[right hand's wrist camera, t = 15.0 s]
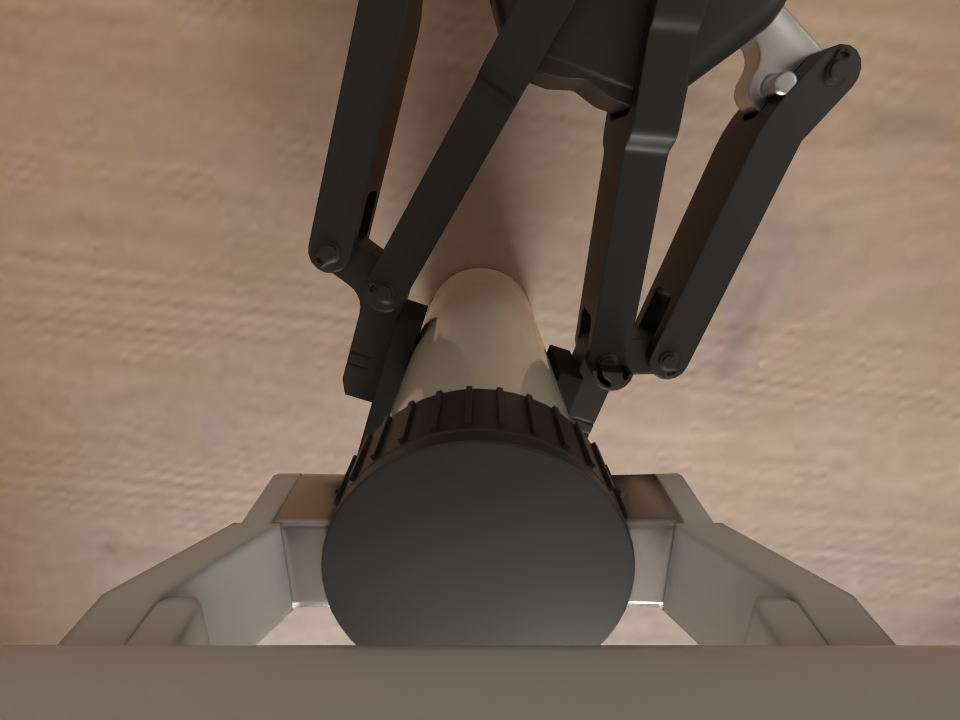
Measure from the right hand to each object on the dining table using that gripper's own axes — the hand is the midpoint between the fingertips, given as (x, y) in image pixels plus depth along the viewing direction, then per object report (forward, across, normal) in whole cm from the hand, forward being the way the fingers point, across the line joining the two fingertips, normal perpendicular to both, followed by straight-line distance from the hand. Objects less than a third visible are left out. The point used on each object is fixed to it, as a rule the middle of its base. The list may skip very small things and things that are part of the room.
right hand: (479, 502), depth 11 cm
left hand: (+8, -2, -5) cm, 9 cm away
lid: (-2, 0, 0) cm, 2 cm away
